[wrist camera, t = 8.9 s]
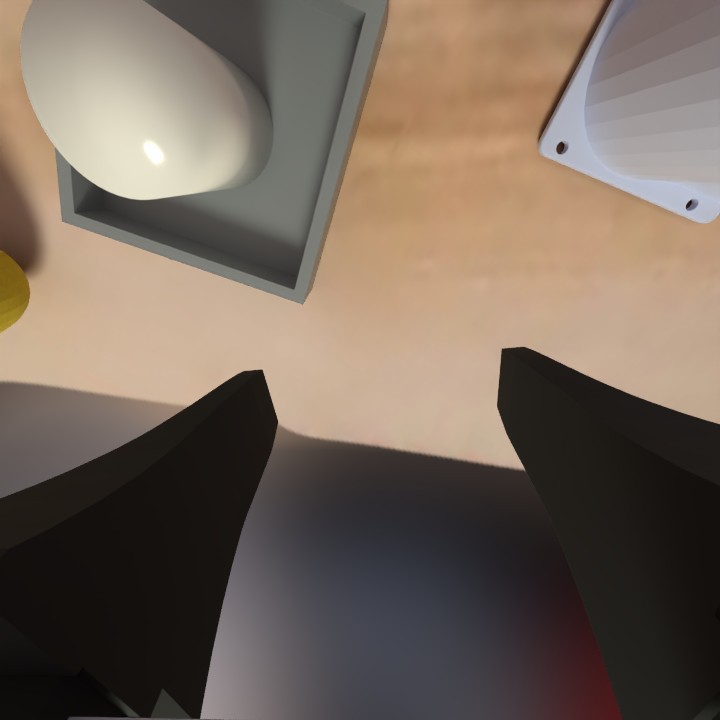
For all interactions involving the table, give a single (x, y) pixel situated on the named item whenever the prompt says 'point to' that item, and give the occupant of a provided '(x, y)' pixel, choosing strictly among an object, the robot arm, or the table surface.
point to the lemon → (12, 291)
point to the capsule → (141, 100)
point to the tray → (289, 152)
